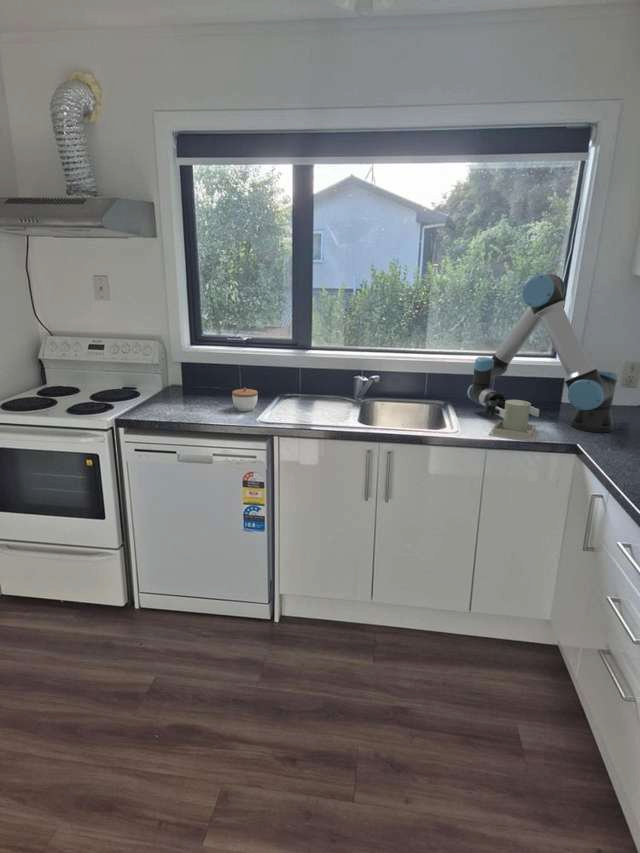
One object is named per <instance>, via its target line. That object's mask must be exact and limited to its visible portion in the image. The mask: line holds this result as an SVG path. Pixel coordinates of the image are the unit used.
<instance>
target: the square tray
mask: <svg viewBox="0 0 640 853" xmlns="http://www.w3.org/2000/svg"><path fill="white" fill-rule="evenodd" d="M502 426H503V419H499V420H498V421H497V423H495V425H494V426H493V427H492V429H491V430H490V432H489V433H488V436H490V437H491V436H492V437H497V438H504V439H510V438H511V439H510V440H516V439H517V440H518V441H522V440H524V442H530V443H535V440H536V438H537V436H538V433H539V432H540V431H539V429H536V427H537V425H536V424H530V423H528V426H527V433H523V432H517V431H510V430H504V429H502ZM517 440H516V441H517Z"/></svg>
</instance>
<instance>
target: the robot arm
mask: <svg viewBox="0 0 640 853" xmlns="http://www.w3.org/2000/svg"><path fill="white" fill-rule="evenodd" d="M522 285H523V286H522V289H521V298H522V301H523V302H524V304H526V305H527V306H528V307H527V308H526V309H525V311H524V312H523V314H522V315H521V316H520V318H519V319H518V321H517V322H516V323H515V325H514V326H513V327H512V329H511V331H510V332H509V333H508V334H507V336H506V337H505V339H504V340H503V341H502V343H501V344H500V345H499V347H498V349H496V351H495V353H494V354H493V355H492V357H486V356H480V357H477V358H475V362H474V365H473V375H472V376H473V377H472V378H473V379H472V384H470V385H469V387H468V389H467V392H466V394H467V397H468V398H469V399H470V400H471V401H473V402H474V403H476V404H479V405H480V406H483V408H484V409H485V413H487V414H488V413H490V415H491V416H494V415H497V416H499V417H501V418H503V419H504V418H506V413H507V411H506V410H505V401H506V400H508V399H507V398H505V395H504V394H502V393H500V392H497V391H496V390H494V389H492V388H491V387H492V380H493V378H496V377H499V376H502V375H504V374H506V372H507V371H508V367H509V365H510V363H511V362H512V361H513V359H514V358H515V357H516V355H517V354H518V353H519V351H520V350H521V349H522V347H523V346H524V344H525V343H526V342H527V341H528V339H529V338H530V337H531V335H532V334H533V333H534V331H535V330H536V329H537V327H538V326H539V325H540V323H542V324H543V327H544V329H545V331H546V333H547V335H548V338H549V341H550V342H551V344H552V346H553V349H554V351H555V353H556V355H557V357H558V360H559V362H560V364H561V366H562V368H563V370H564V373H565V376H566V377H565V378H564V383H565V385H566V387H567V399H568V401H569V403H570V404H571V405H572V406H573V407H574V408H576V411H575V413H574V414H573V415H572V418H571V420H570V426H571V427H573V428H575V429H578V430H580V431H585V432H590V433H591V432H592V433H603V434H604V433H605V434H606V433H610V432H612V431H613V429H614V421H613V420H614V419H613V416H612V415H613V414H612V408H613V407H612V406H613V401H614V396H615V392H616V386H617V382H618V379H617V378H618V375H617V373H616V372H614V371H613V372H612V371H606V370H599V369H598V368H597V367H595V366H592V365H590V362H589V360H588V358H587V355H586V354H585V352H584V349H583V347H582V345H581V343H580V341H579V338H578V337H577V335H576V334H577V333H576V331H575V330H574V328H573V325H572V323H571V321H570V319H569V317H568V314H567V313H566V310H565V308H564V306H565V304H566V300H565V297H564V295H565V292H566V286H565V282H564V280H563V279H562V278H561V277H560V276H558V275H556V274H553V273H552V274H544V273H540V274H536V275H532V276H531V277H529V278H528V279H527V280H525V281H524V284H522ZM529 415H532V416H534V417H537V418H539V416H540V409H539V408H536V407H535V404H532V403H531V406H530V412H529Z"/></svg>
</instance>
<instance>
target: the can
mask: <svg viewBox="0 0 640 853" xmlns="http://www.w3.org/2000/svg"><path fill="white" fill-rule="evenodd" d="M531 404H532V403H531V402H529V401H527V400H521V399H507V400H506V401H505V409H504V410H506V411H507V413H506V418H503V419H502V420H503V426H502V429H504V430H510V431H517V432H523V433H527V426H528V424H529V416H530V414H529V412H530V406H531Z"/></svg>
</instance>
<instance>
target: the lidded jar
mask: <svg viewBox="0 0 640 853" xmlns="http://www.w3.org/2000/svg"><path fill="white" fill-rule="evenodd" d="M258 394H259V392H258V390H256V389H251V388H247V387H243V388H240V389H235V390H232V392H231V395H232V402H233V405H234V406H235V408H236V409H237V410H238V411H239V412H251V411H253V409H254V408H255V407H256V405H257V403H258Z"/></svg>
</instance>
